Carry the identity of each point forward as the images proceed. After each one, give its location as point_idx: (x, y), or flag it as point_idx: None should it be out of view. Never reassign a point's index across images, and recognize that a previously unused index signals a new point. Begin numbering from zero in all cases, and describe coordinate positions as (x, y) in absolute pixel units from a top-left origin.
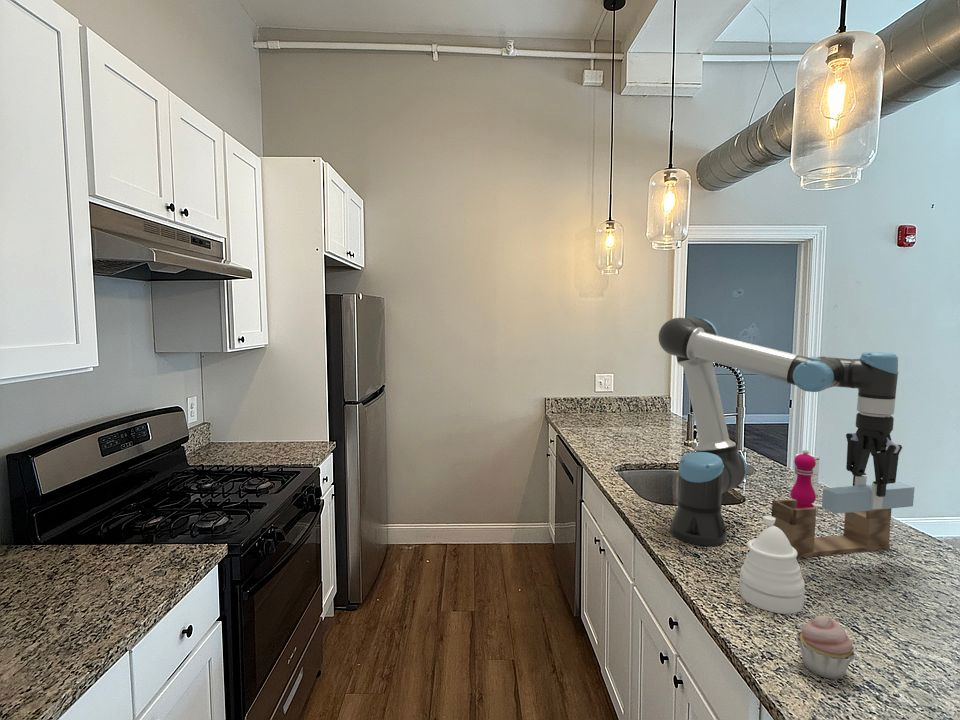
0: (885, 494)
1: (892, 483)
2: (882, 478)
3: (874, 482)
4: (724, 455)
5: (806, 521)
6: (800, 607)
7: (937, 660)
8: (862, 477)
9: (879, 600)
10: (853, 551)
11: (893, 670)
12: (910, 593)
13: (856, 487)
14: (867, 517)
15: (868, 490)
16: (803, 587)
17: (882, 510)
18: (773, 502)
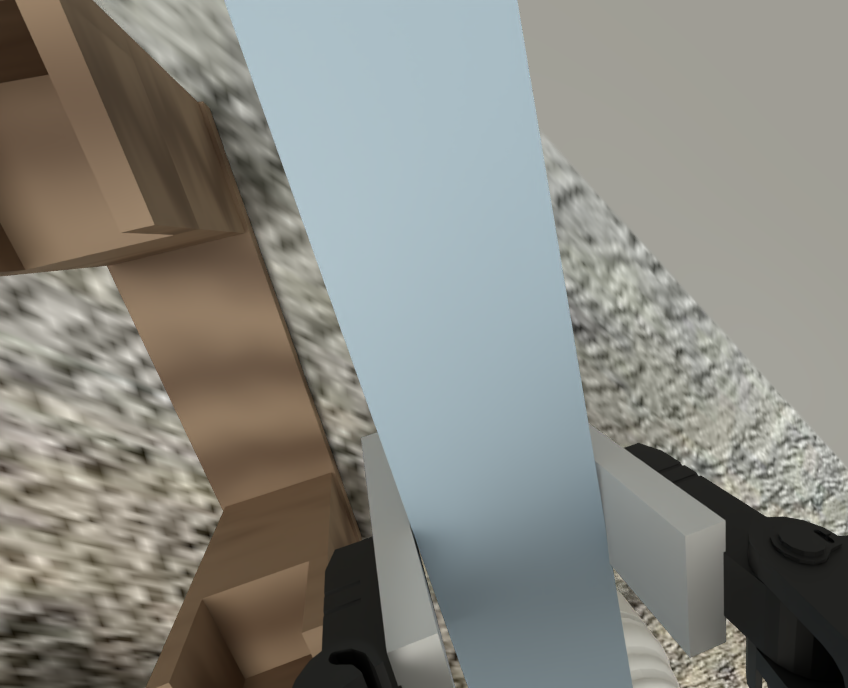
0: (666, 454)
1: (281, 64)
2: (799, 611)
3: (756, 674)
4: None
5: None
6: (628, 602)
7: (785, 430)
8: (451, 686)
9: (596, 412)
10: (279, 306)
11: (788, 516)
12: (568, 302)
13: (506, 656)
14: (182, 232)
15: (596, 585)
16: (654, 637)
17: (127, 98)
18: None
